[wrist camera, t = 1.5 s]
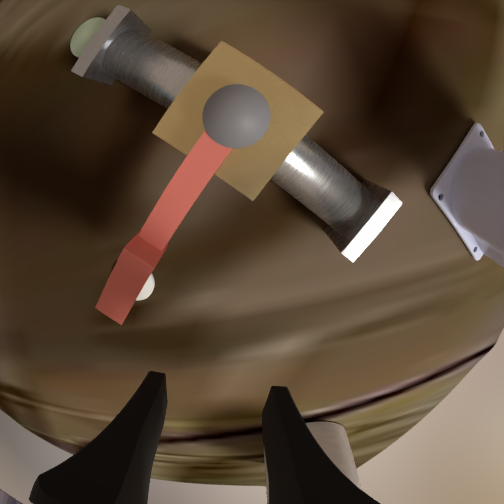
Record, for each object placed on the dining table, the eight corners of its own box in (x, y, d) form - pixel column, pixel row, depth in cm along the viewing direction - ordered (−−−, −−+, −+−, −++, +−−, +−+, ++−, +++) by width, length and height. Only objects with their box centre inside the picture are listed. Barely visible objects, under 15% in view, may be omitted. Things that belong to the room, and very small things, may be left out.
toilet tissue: (352, 413, 27) (374, 484, 18) (337, 453, 32) (350, 509, 23) (260, 426, 27) (265, 504, 18) (265, 463, 32) (269, 521, 23)
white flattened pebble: (162, 275, 19) (161, 277, 19) (143, 305, 20) (142, 307, 20) (125, 251, 19) (123, 253, 18) (109, 282, 20) (107, 284, 19)
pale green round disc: (119, 25, 12) (118, 24, 12) (92, 64, 13) (90, 63, 13) (90, 14, 11) (88, 12, 11) (65, 50, 12) (62, 50, 12)
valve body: (384, 187, 17) (413, 200, 14) (333, 249, 19) (351, 275, 15) (140, 16, 12) (119, -6, 9) (91, 84, 14) (60, 77, 10)
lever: (230, 77, 11) (227, 63, 8) (280, 112, 12) (289, 106, 9) (105, 276, 15) (85, 301, 12) (145, 302, 15) (131, 331, 13)
